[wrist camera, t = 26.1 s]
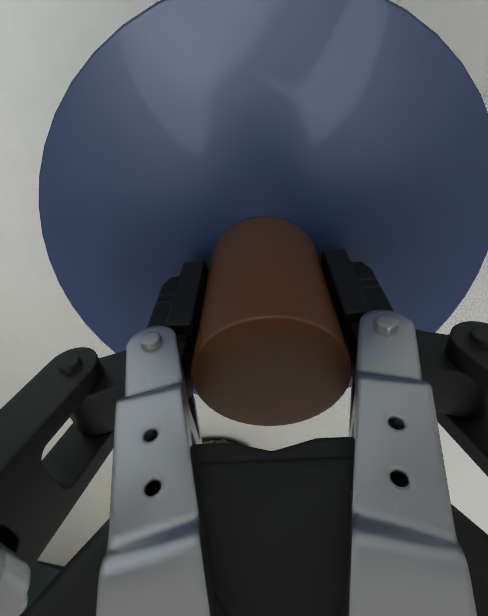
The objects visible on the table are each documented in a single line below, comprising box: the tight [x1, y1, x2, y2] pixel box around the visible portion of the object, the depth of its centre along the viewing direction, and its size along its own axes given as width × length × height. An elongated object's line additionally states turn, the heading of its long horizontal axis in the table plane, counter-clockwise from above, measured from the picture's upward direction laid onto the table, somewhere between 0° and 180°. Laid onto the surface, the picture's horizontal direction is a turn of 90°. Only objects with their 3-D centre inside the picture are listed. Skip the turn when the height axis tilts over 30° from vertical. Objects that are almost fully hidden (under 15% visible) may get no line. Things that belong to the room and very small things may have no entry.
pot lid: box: [39, 0, 488, 426], centre depth 11 cm, size 16×16×7 cm
